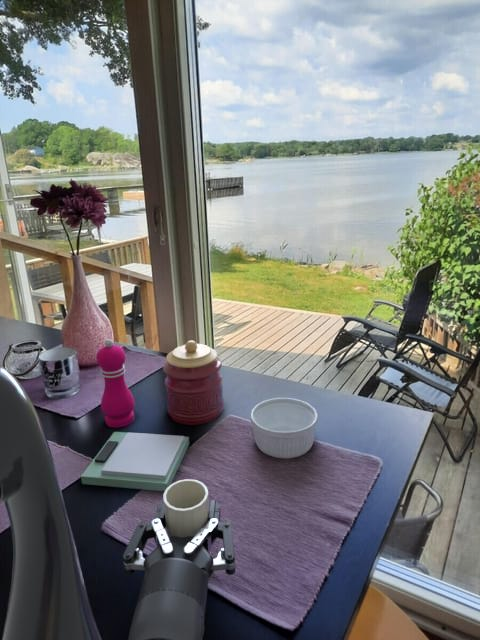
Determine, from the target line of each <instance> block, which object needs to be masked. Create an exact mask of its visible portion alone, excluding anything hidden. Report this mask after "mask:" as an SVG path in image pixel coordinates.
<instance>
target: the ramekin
mask: <svg viewBox="0 0 480 640" xmlns="http://www.w3.org/2000/svg"><path fill="white" fill-rule="evenodd" d="M318 421H319V417H318V412H317V410H316V409H315V407H314V406H313V405H311V404H310V403H308V402H306V401H303V400H301V399H298V398H297V399H296V398H291V397H275V398H269V399H266V400H263V401H261V402H259V403H258V404H256V405H255V406H254V407H253V408H252V410H251V412H250V424H251V425H252V431H253V436H254V442H255V444H256V446H257V448H258V449H259V450H260V451H261V452H263V453H264V454H266V455H267V456H270V457H273V458H277V459H294V458H298V457H301V456H302V455H305V454H306V453H307V452H309V451H310V449H312V446H313V445H314V441H315V435H316V428H317V426H318Z"/></svg>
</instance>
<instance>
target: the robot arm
mask: <svg viewBox="0 0 480 640" xmlns="http://www.w3.org/2000/svg"><path fill="white" fill-rule="evenodd" d="M55 465H56V464H55V462H54V458H53V455H52V451H51V448H50V444H49V442H48V437H47V436H46V432H45V429H44V427H43V424H42V421H41V419H40V417H39V414H38V412H37V410H36V408H35V406H34V404H33V402H32V400H31V398H30V396H29V394H28V393H27V391H26V390H25V388H24V387H23V385H22V384H21V383H20V381H19V380H18V379H17V378H16V376H15V375H14V374H13V373H11V371H9V370H8V369H7V368H6V367H5V366H3V365H2V364H0V504H1V503H2V502H3V503H4V506H5V509H6V510H5V511H6V512H7V516H8V520H9V526H10V530H11V537H12V552H13V553H12V555H13V556H12V557H13V559H12V570H11V583H10V591H9V597H8V604H7V611H6V615H5V616H6V617H5V620H4V621H5V622H4V626H3V632H2V637H1V640H103V638H102V636H101V634H100V630H99V628H98V625H97V621H96V618H95V616H94V612H93V609H92V607H91V602H90V599H89V596H88V591H87V587H86V584H85V580H84V576H83V572H82V568H81V563H80V559H79V554H78V551H77V546H76V542H75V539H74V533H73V530H72V527H71V522H70V517H69V514H68V510H67V506H66V503H65V499H64V496H63V492H62V488H61V484H60V481H59V476H58V473H57V470H56V466H55ZM216 501H217V500H216V499H210V500H209V517H208V520H209V522H208V523H207V524H206V526H205V527H204V528H201V529H200V530H199V531H198V533H197V534H196V535H195V536H188V537H183V538H181V537H177V536H170V539H169V538H168V535H167V529H166V520H165V510H164V500H162V503H159V504H158V505H157V506H156V511H155V514H154V517H153V519H152V520H151V522H148V523H147V522H145V521H140V522H138V524H137V525H136V527H135V529H134V531H133V533H132V534H131V537H130V539H129V542H128V544H127V545H126V548H125V550H124V552H123V554H122V561H123V568H124V573H125V574H126V575H132V574H133V573H134V572H135V571H141V572H144V574H143V578H142V581H141V587H140V591H139V594H138V598H137V602H136V605H135V608H134V613H133V617H132V621H131V625H130V629H129V633H128V639H127V640H203V636H204V634H205V628H206V627H205V617H206V607H207V598H208V589H209V587H208V586H209V581H210V578H211V576H212V575H213V574H214V572H216V571H225V574H227V575H228V576H232V575H234V574H235V573H236V558H235V557H236V554H235V545H234V536H233V535H234V534H233V526H232V523H231V522H230V521H224V522H221V515H222V514H221V505H220V504H219V503H217V502H216ZM149 539H153V540H154V543H155V546H156V548H155V549H153V550H152V551H151V552H150V553H149V554H148V555H146V556H145V558H144V554H143V553H144V550H145V547H146V545H147V543H148V541H149ZM218 539H221V540H222V542H223V543H222V544H223V547H222V548H220V551H218V552H217V556H216V557H215V558H214V557H213V556H212V555H210V554H209V553H210V551H211V548H213V545H214V544H215V543H216V541H217V540H218ZM211 552H212V551H211Z"/></svg>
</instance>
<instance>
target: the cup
mask: <svg viewBox="0 0 480 640" xmlns="http://www.w3.org/2000/svg"><path fill="white" fill-rule="evenodd" d="M162 499H163V500H164V510H165V520H166V528H165V530H166V533H167V535H168V538H169V539H170V536H177V537H181V538H183V537H188V536H195V535H196V534H197V533H198V531H199V530H200V529H201V528H204V527H205V526H206V524H207V523H208V522H209V520H208V517H209V509H210V497H209V490H208V486H206V485H205V484H204V483H203V482H202V481H200V480H198V479H193V478H186V479H179V480H177V481H175V482H172V483H171V485H170V486H169V487H168V488H167V489H166V490H165V491H163V494H162ZM163 500H162V501H163ZM212 548H213V547H212ZM212 548H211V551H210V553H209V554H210V555H211V554H212V550H213V549H212ZM211 556H212V555H211Z"/></svg>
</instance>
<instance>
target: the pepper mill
mask: <svg viewBox="0 0 480 640" xmlns="http://www.w3.org/2000/svg"><path fill="white" fill-rule="evenodd" d="M126 359H127V355H126V352H125V350H124V348H123V347H121V346H120V345H118V344H114V340H113V339H111V338H107V339H105V341H104V346H102V347H100V348H99V349H98V351H97V353H96V363H97V365H98V366H99V367H100V372H101V373H100V375H101V376H102V377H103V379H104V390H103V393H102V397H101V401H100V410H101V413H102V414H104V415H105V416H104V420H105V424H106V426H108V427H110V428H115V429H116V428H123V427H126V426H128V425H130V424H132V423H133V422H134V421H135V412H134V411H133V410H134V409H135V405H136V401H135V397H134V396H133V393H132V391H130V389H129V387H128V386H127V383H126V381H125V373H126V366H125V364H124V363H126Z"/></svg>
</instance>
